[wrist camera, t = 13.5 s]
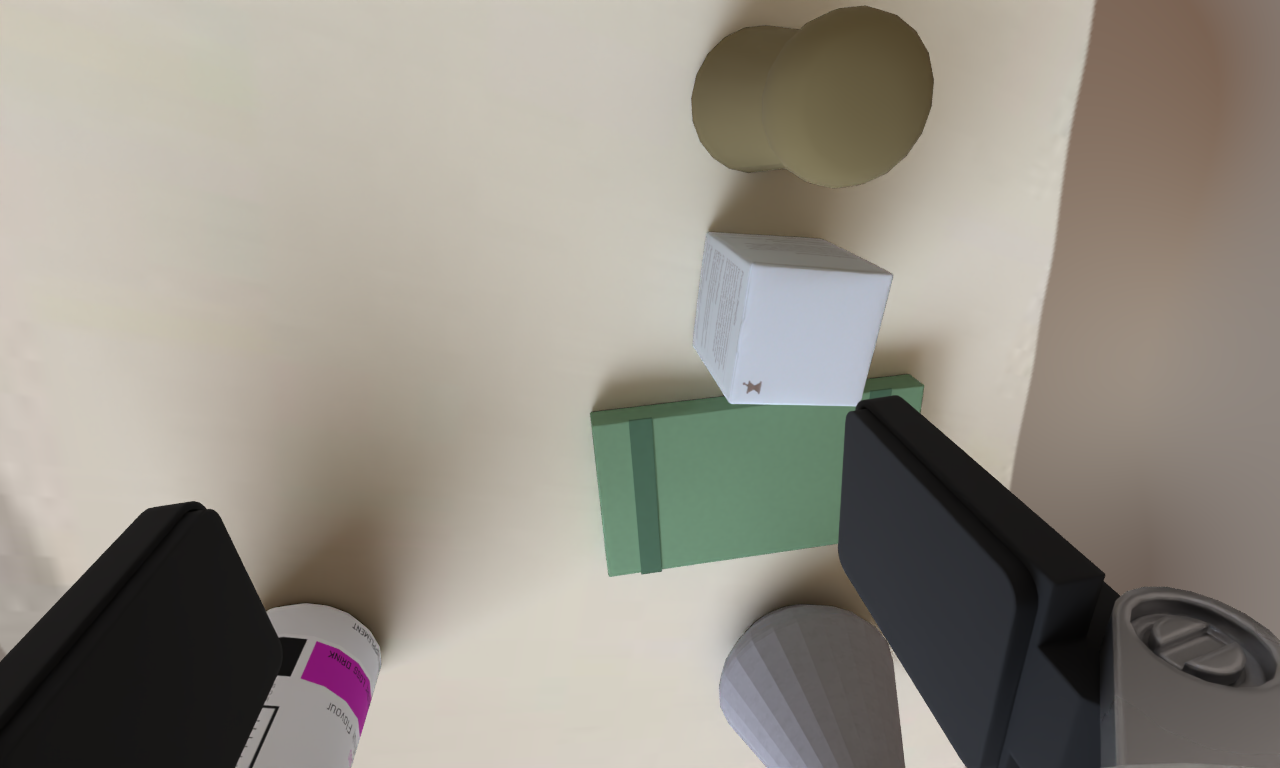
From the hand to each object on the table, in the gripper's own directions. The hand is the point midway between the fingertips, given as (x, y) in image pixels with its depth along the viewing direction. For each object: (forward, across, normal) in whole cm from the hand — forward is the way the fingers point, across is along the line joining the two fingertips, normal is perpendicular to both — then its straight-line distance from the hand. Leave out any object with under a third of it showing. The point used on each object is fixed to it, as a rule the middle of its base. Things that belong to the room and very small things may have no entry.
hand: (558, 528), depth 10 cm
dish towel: (+22, -10, +15) cm, 28 cm away
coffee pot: (+22, -12, +35) cm, 43 cm away
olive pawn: (+22, -10, -5) cm, 25 cm away
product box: (+22, -10, +4) cm, 25 cm away
